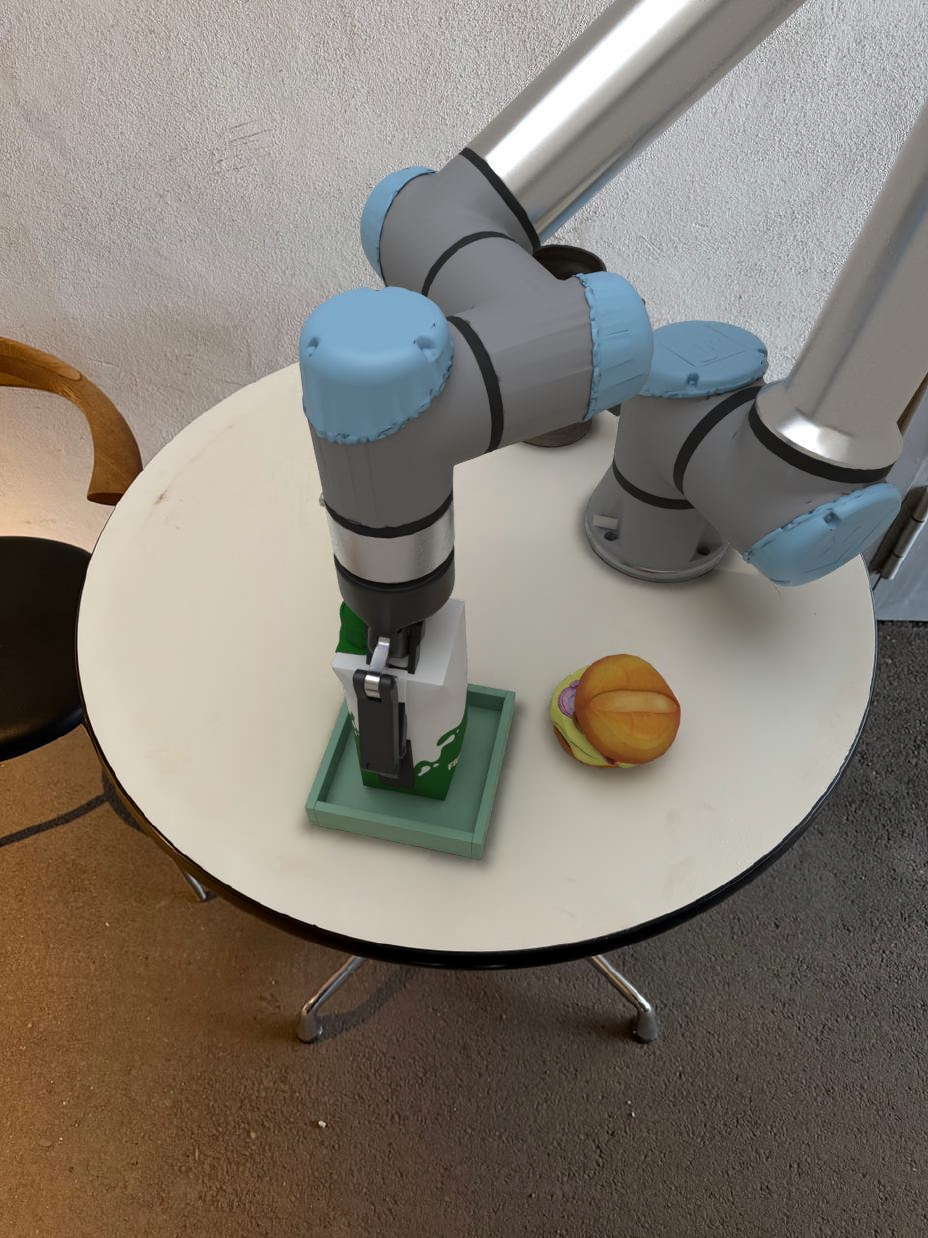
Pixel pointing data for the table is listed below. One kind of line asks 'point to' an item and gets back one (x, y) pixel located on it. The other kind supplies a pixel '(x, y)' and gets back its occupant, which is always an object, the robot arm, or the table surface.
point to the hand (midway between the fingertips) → (412, 731)
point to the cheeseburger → (615, 713)
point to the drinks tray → (412, 816)
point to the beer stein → (563, 266)
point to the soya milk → (418, 695)
